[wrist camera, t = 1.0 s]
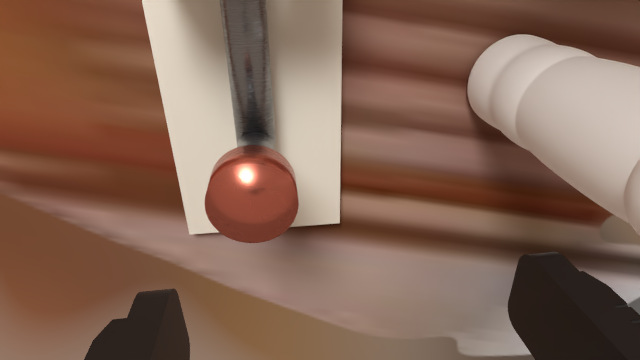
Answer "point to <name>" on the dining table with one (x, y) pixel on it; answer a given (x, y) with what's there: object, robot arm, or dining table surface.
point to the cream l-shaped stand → (287, 89)
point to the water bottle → (566, 115)
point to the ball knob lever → (250, 137)
